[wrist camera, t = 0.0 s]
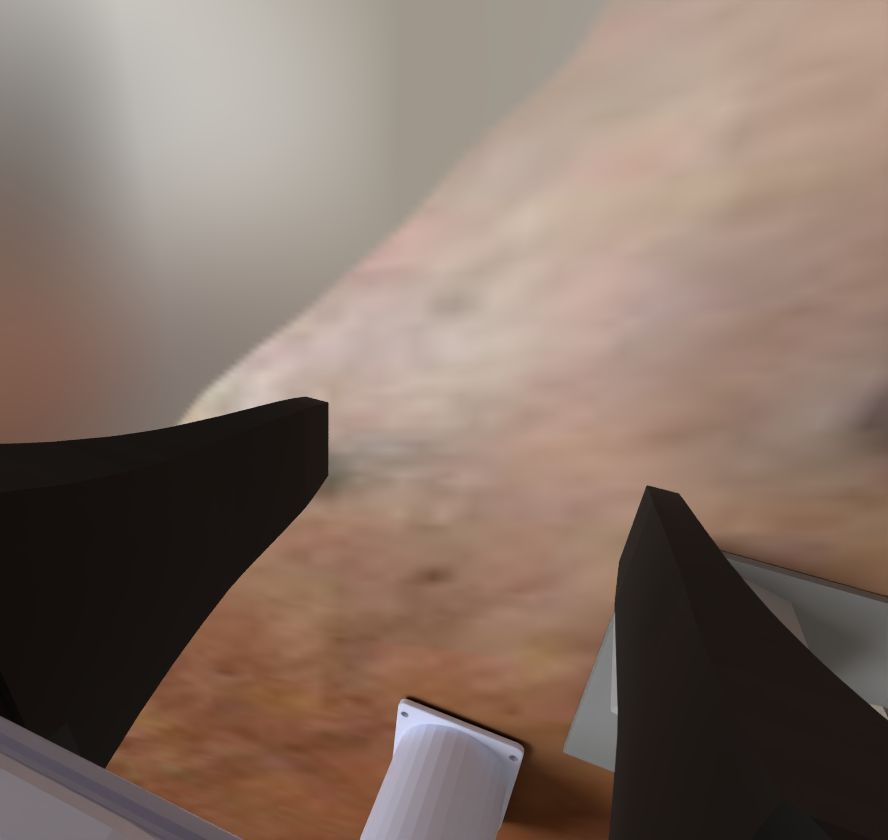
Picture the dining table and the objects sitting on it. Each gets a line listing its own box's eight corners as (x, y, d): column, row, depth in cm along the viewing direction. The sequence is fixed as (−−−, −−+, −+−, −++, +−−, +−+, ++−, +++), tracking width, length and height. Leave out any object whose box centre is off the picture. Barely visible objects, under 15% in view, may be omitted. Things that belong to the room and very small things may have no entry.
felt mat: (927, 887, 25) (931, 897, 25) (563, 745, 29) (562, 752, 29) (1183, 679, 17) (1194, 689, 17) (645, 529, 22) (645, 535, 21)
